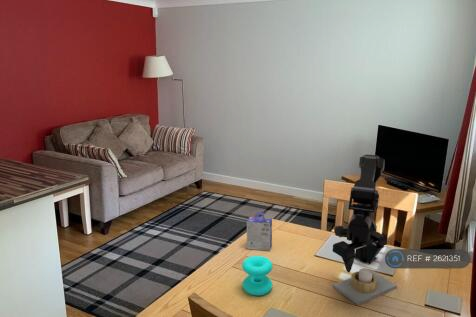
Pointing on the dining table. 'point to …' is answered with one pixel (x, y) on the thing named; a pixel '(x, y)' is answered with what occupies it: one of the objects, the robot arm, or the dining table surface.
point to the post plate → (364, 296)
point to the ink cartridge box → (259, 233)
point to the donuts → (257, 275)
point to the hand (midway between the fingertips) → (358, 267)
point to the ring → (363, 284)
